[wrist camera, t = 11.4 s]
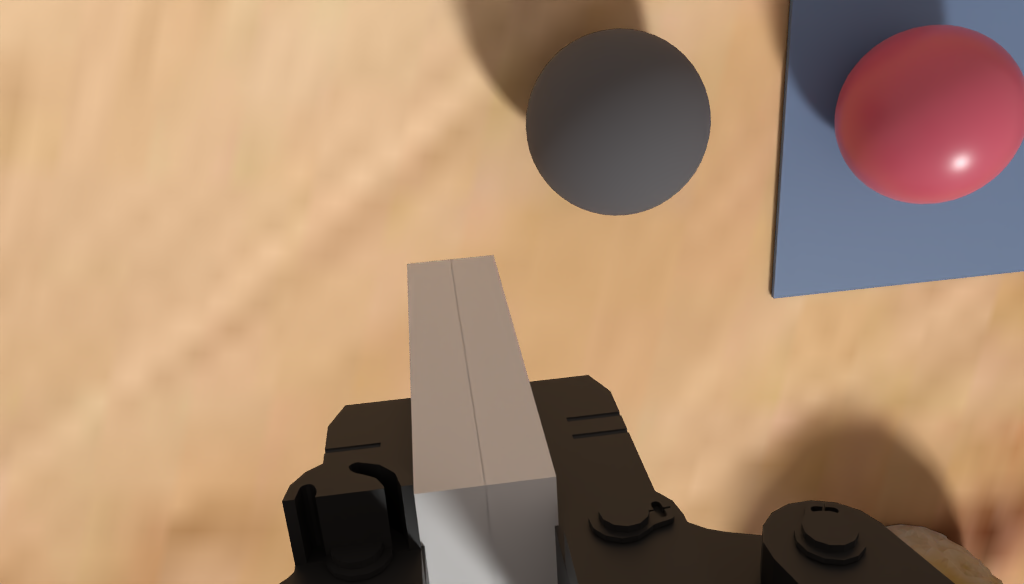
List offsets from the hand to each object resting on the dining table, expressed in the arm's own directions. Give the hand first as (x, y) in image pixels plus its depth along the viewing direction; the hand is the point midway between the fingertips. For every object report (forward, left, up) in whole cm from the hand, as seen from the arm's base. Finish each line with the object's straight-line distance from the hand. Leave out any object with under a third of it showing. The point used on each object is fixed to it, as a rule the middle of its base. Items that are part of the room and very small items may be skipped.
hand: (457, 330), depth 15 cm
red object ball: (+16, 0, -12) cm, 20 cm away
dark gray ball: (+6, +1, -12) cm, 13 cm away
